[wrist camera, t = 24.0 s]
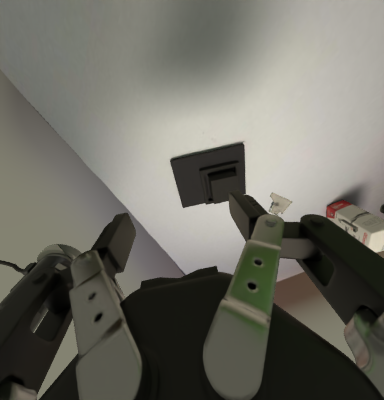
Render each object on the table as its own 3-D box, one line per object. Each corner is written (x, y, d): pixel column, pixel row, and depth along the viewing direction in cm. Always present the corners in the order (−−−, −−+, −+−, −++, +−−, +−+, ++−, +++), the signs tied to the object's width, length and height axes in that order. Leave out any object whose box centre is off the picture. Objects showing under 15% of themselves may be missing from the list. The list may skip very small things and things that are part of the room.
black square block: (210, 195, 37) (214, 204, 33) (207, 174, 34) (210, 181, 31) (232, 190, 37) (238, 198, 33) (231, 169, 34) (237, 175, 31)
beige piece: (246, 226, 44) (249, 232, 42) (272, 192, 40) (277, 196, 37) (265, 233, 46) (270, 239, 44) (292, 201, 42) (299, 206, 39)
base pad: (182, 205, 39) (183, 210, 37) (170, 159, 33) (170, 162, 31) (243, 192, 39) (247, 196, 37) (242, 143, 33) (246, 145, 31)
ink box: (325, 205, 43) (372, 233, 33) (343, 198, 43) (396, 224, 32) (325, 226, 47) (367, 257, 37) (341, 220, 47) (388, 249, 37)
